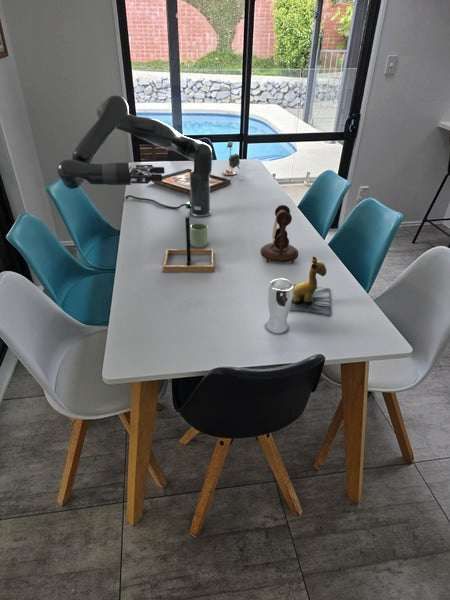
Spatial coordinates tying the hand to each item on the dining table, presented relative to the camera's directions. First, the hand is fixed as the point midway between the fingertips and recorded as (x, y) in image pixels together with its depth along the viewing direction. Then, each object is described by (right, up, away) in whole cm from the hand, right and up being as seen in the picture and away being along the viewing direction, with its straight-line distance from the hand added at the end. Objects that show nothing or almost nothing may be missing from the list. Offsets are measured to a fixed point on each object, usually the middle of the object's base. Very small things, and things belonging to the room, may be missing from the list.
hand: (163, 173), depth 141 cm
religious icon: (+2, +23, +92) cm, 95 cm away
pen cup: (+11, -22, +25) cm, 35 cm away
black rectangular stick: (+8, -31, +10) cm, 33 cm away
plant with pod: (+26, +35, +111) cm, 119 cm away
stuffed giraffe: (+47, -44, -8) cm, 66 cm away
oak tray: (+8, -30, +11) cm, 34 cm away
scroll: (+43, -28, +17) cm, 54 cm away
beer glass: (+37, -53, -21) cm, 68 cm away
